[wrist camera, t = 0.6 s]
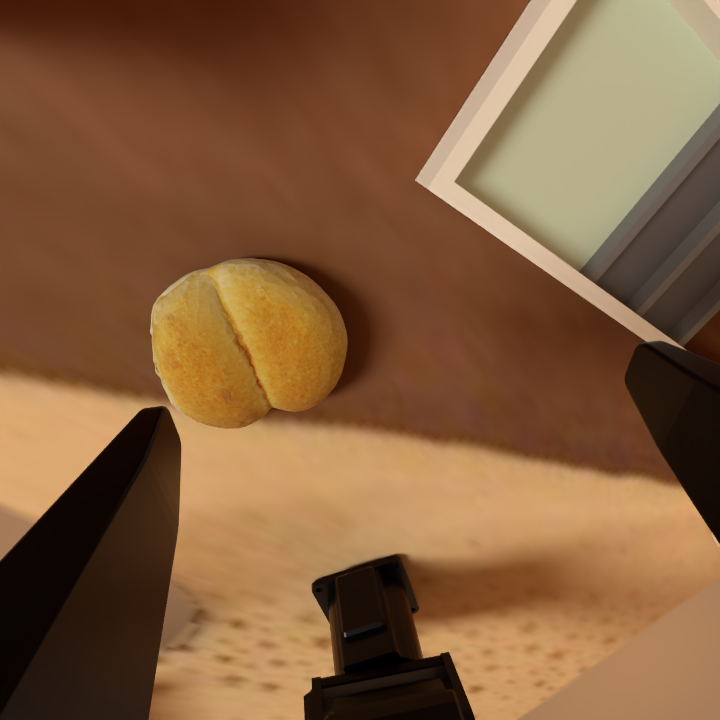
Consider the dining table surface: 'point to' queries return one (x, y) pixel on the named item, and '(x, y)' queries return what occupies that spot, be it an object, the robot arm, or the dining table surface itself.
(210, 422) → the bread roll
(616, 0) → the box
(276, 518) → the dining table surface
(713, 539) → the drinking glass
